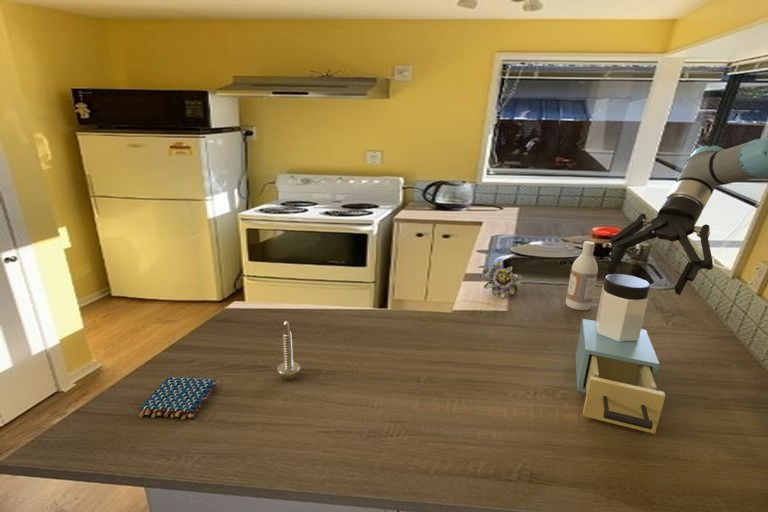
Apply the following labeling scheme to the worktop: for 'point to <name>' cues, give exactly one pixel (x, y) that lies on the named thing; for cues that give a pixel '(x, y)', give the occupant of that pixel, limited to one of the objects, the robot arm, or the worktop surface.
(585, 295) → the bath foam
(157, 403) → the woven mat
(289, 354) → the screw
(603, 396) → the drawer
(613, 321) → the jar
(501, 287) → the passion flower
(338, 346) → the worktop surface
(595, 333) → the blue drawer cabinet
